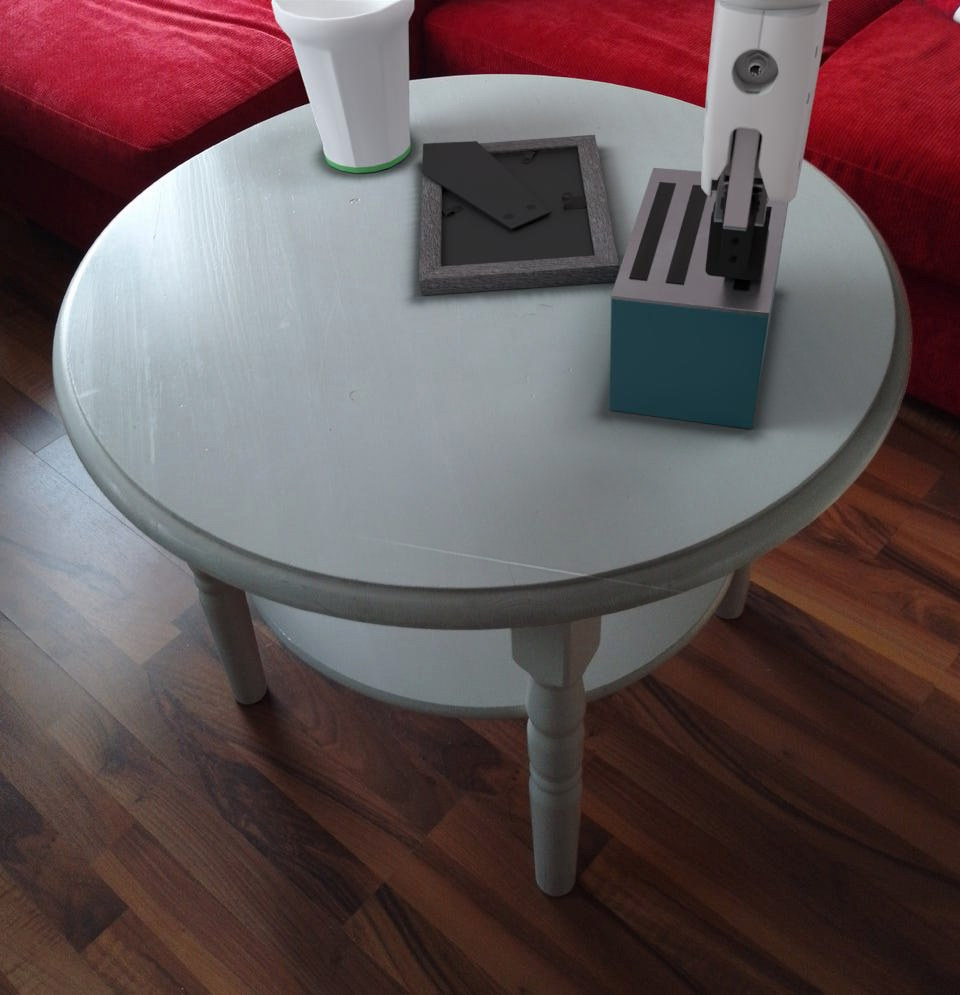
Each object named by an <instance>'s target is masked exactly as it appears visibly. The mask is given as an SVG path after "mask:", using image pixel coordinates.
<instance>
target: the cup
mask: <svg viewBox="0 0 960 995" xmlns="http://www.w3.org/2000/svg"><path fill="white" fill-rule="evenodd" d="M271 7H272V11H273V15H274V19H275V22H276V23H277V25H278V26H279V27H280V28H281V29H282V31H283V33H285V34H286V36H287V37H288V38H289V39H290V42H291V45H292V49H293V52H294V56H295V58H296V63H297V64H298V68H299V71H300V74H301V77H302V81H303V84H304V87H305V91H306V95H307V97H308V100H309V104H310V107H311V110H312V111H311V112H312V114H313V117H314V120H315V123H316V127H317V130H318V133H319V136H320V139H321V143H322V148H323V149H322V150H323V155H324V158H325V160H326V162H327V164H328V165H329V166H331V167H333V168H334V169H336V170H340V171H342V172H346V173H351V174H353V173H354V174H366V173H367V174H368V173H375V172H380V171H383V170H386V169H390V168H392V167H394V166H395V165H397V164H400V162H402V161H404V159H405V158H407V156H408V155H409V153H410V152H411V148H412V145H411V136H410V135H411V126H410V125H411V122H410V120H411V118H410V117H411V114H410V113H411V112H410V48H409V47H410V46H409V45H410V43H409V42H410V38H409V32H410V31H409V21H410V20H411V17H412V15H413V13H414V11H415V0H271Z"/></svg>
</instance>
